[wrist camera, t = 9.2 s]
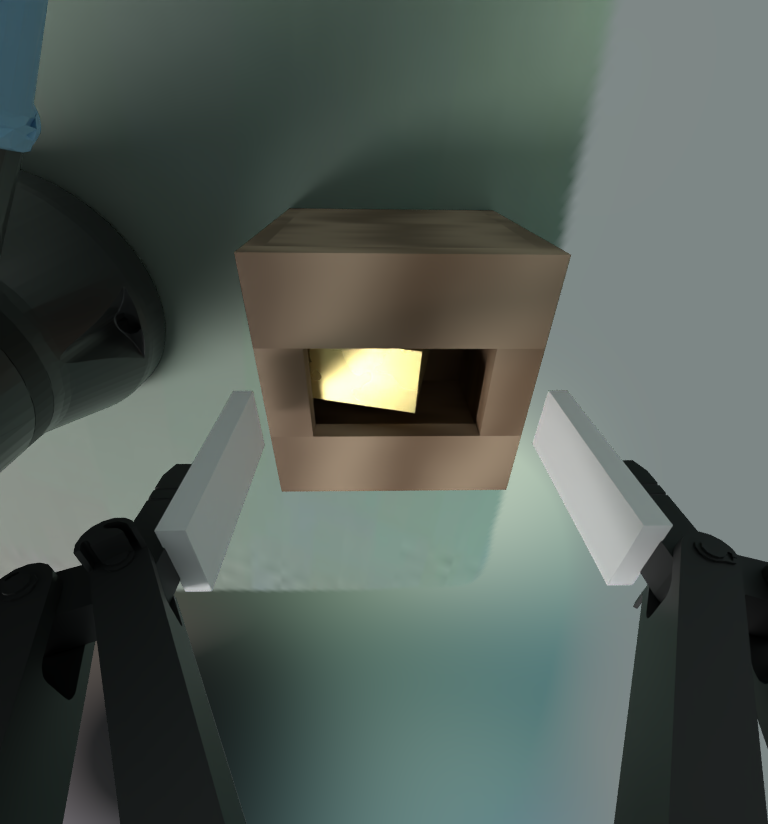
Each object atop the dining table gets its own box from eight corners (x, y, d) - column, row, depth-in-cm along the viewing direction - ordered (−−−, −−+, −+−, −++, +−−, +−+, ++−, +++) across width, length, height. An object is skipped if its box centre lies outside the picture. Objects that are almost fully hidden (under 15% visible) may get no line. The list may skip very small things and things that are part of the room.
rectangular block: (342, 333, 26) (290, 394, 18) (343, 287, 24) (285, 334, 17) (431, 344, 25) (414, 413, 18) (437, 298, 24) (422, 351, 16)
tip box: (309, 384, 29) (281, 491, 20) (289, 208, 23) (234, 252, 14) (465, 384, 30) (506, 489, 21) (493, 210, 23) (570, 255, 14)
